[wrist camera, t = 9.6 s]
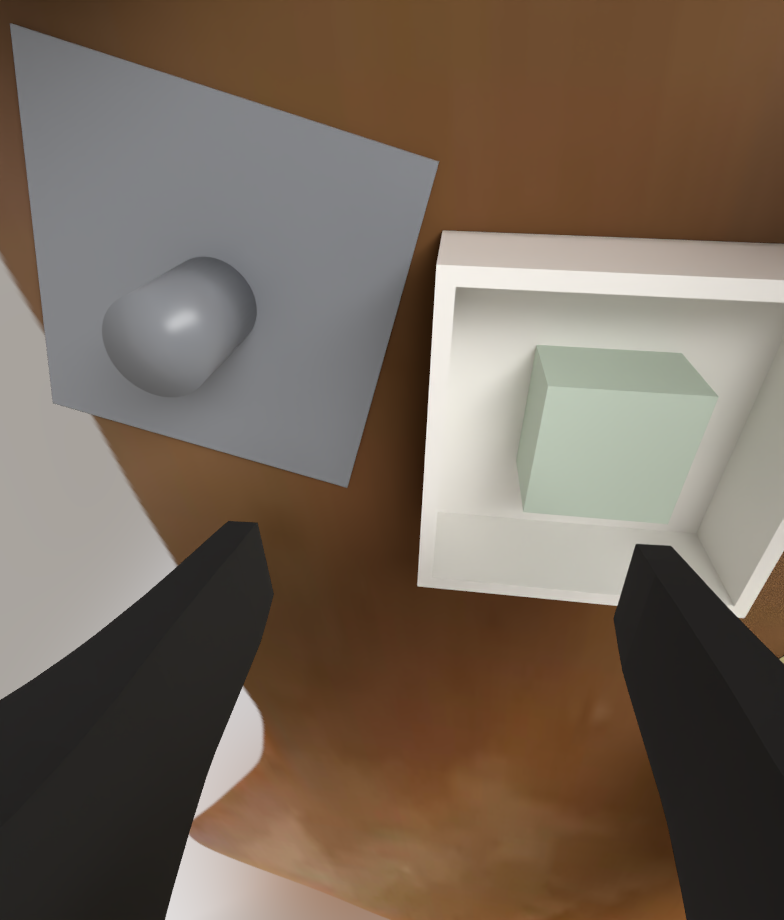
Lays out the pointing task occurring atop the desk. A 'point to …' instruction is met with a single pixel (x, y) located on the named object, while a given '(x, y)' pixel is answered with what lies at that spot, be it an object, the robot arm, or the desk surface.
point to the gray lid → (211, 257)
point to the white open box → (607, 327)
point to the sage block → (610, 432)
